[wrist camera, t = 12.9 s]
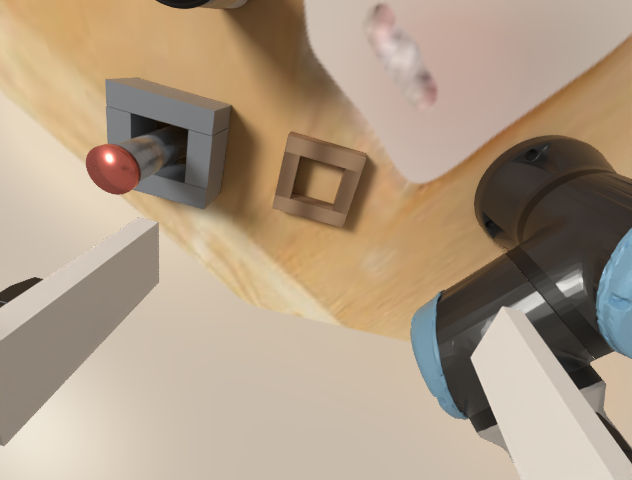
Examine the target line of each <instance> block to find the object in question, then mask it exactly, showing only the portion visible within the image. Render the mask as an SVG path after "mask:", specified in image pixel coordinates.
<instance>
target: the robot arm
mask: <svg viewBox="0 0 632 480" xmlns="http://www.w3.org/2000/svg"><path fill="white" fill-rule="evenodd" d="M474 207H475V214H476V217H477V220H478V222H479V224H480V226H481V227H482V228H483V230H484V231H485V232H486V233H487V234H488V236H489V237H490V238H491V239H492V240H494V241H495V242H496V243H498V244H499V245H501V246H503V247H505V248H508V249H510V251H508V252H507V253H504V254H503V255H501V256H500V257H498V258H496V259H495V260H493V261H492V262H490V263H489V264H487V265H485V266H484V267H482V268H481V269H479V270H477V271H476V272H474V273H473V274H471V275H470V276H468V277H466V278H465V279H463V280H462V281H460V282H458V283H457V284H455V285H453V286H452V287H450V288H448V289H447V290H443V291H441V292H439V293H438V294H437V295H436V297H435V298H433V299H432V300H430V301H429V302H428V303H426V304H425V305H423V306H422V307H420V308H419V309H418V310H417V311H416V312H415V314H414V316H413V318H412V322H411V331H410V334H411V342H412V347H413V351H414V355H415V358H416V361H417V364H418V367H419V369H420V372H421V374H422V376H423V378H424V380H425V383H426V384H427V386H428V388H429V390H430V392H431V393H432V394H433V396H434V397H437V399H438V402H439V405H440V406H441V407H442V408H443V410H444V411H445V412H446V413H448V414H449V415H451V416H452V417H454V418H457V419H468V418H469V419H470V421H471V422H472V425H473V426H474V428H475V430H476V432H477V433H478V435H479V436H480V437H481V438H483V439H485V440H488V441H490V442H492V443H494V444H496V445H498V446H500V447H502V448H503V449H504V450H505V451H507V452H508V454H509V456H510V458H511V459H512V461H513V463H514V465H515V467H516V469H517V471H518V474H519V476H520V479H521V480H632V448H631V446H630V445H629V444H628V443H627V441H626V440H625V439H624V438H623V436H622V435H621V434H620V432H619V431H618V430H617V429H616V427H615V426H614V425H613V423H612V422H611V421H610V420H609V418H608V417H607V416H606V413H605V411H604V408H603V407H604V398H605V389H606V383H605V382H604V381H603V380H602V379H601V377H600V376H599V375H598V374H597V372H596V371H595V370H594V369H593V368H592V366H591V365H590V362H592V361H594V360H595V359H598V358H600V357H602V356H604V355H607V354H609V353H611V352H614V351H616V352H618V353H620V354H622V355H624V356H627V357H629V358H631V359H632V179H630V178H627V177H625V176H622V175H619V174H617V173H616V171H615V170H614V169H613V168H612V166H611V165H610V164H609V162H608V161H607V160H606V159H605V157H604V156H603V155H602V154H601V153H600V152H599V151H598V150H597V149H595V148H594V147H592V146H591V145H589V144H587V143H585V142H582V141H579V140H576V139H573V138H570V137H566V136H558V135H549V136H541V137H536V138H532V139H529V140H526V141H524V142H521V143H519V144H517V145H515V146H514V147H512V148H510V149H509V150H507V151H506V152H504V153H503V154H502V155H501V156H499V157H498V158H497V159H496V160H495V161H494V162H493V163H492V164H491V165H490V167H489V168H488V169H487V170H486V172H485V173H484V175H483V177H482V178H481V180H480V182H479V185H478V187H477V190H476V194H475V202H474ZM158 233H159V222H156V221H152V220H148V219H143V218H139V217H138V218H137V219H135V220H133V221H132V222H130V223H129V224H127V225H126V226H124V227H123V228H122V229H120V230H118V231H117V232H115V233H114V234H112V235H111V236H109V237H107V238H106V239H104V240H103V241H101V242H100V243H99V244H97V245H95V246H94V247H92V248H91V249H89V250H88V251H86V252H85V253H83V254H82V255H80V256H79V257H77V258H75V259H74V260H72V261H71V262H69V263H68V264H66V265H65V266H63V267H62V268H60V269H59V270H57V271H56V272H54V273H53V274H51V275H50V276H48V277H47V278H45V279H40V278H36V277H34V278H31V279H28V280H25V281H23V282H20V283H17V284H14V285H12V286H10V287H8V288H6V289H5V290H3V291H2V292H0V445H2V446H5V445H6V444H7V443H8V442H9V441H10V440H11V438H12V437H13V436H14V435H15V434H16V433H17V432H18V431H19V430H20V429H21V428H22V427H23V426H24V425H25V424H26V423H27V421H28V420H29V419H30V418H31V417H32V416H33V415H34V414H35V413H36V412H37V411H38V410H39V408H41V406H43V405H44V403H45V402H46V401H47V400H48V399H49V398H50V397H51V396H52V395H53V394H54V393H55V392H56V391H57V390H58V389H59V388H60V386H61V385H62V384H63V383H64V382H65V381H66V380H67V379H68V378H69V377H70V376H71V375H72V374H73V373H74V372H75V371H76V370H77V368H78V367H79V366H80V365H81V364H82V363H83V362H84V361H85V360H86V359H87V358H88V357H89V356H90V355H91V353H93V352H94V350H95V349H96V348H97V347H98V346H99V345H100V344H101V343H102V342H103V341H104V340H105V339H106V338H107V337H108V336H109V335H110V334H111V332H112V331H113V330H114V329H115V328H116V327H117V326H118V325H119V324H120V323H121V322H122V321H123V320H124V319H125V318H126V317H127V315H128V314H129V313H130V312H131V311H132V310H133V309H134V308H135V307H136V306H137V305H138V304H139V303H140V302H141V301H142V300H143V299H144V297H145V296H146V295H147V294H148V293H149V292H150V291H151V290H152V289H153V288H154V287H155V286H156V285H157V284H158V283H159V234H158ZM508 257H509V258H510V259H509V258H508ZM514 264H515V265H516V266H515V265H514ZM520 271H521V272H520ZM526 278H527V279H528V280H527V279H526ZM531 284H532V285H533V286H532V285H531ZM537 291H538V292H539V293H538V292H537ZM542 297H543V298H544V299H543V298H542ZM548 304H549V305H548ZM553 310H554V311H553ZM586 349H587V350H586ZM591 355H592V356H593V357H594V358H595V359H594V358H593V357H592V356H591Z"/></svg>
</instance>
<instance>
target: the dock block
mask: <svg viewBox="0 0 632 480" xmlns="http://www.w3.org/2000/svg"><path fill="white" fill-rule="evenodd" d="M105 81H106V104H107V106H106V116H107V139H108V144H118V143H121V142H124V141H127V140H130V139H133V138H136V137H139V136H142V135H145V134H148V133H151V132H154V131H157V120H158V121H161V122H165V123H168V124H172V125H175V126H179V127H182V128H186V129H189V131H188V145H187V159H186V165H184V164H181V163H177V162H174V163H172V164H170V165H168V166H167V167H165V168H163V169H161V170H159V171H158V172H156V173H154V174H152V175H151V176H149V177H147V178H145V179H143V180H142V181H140V182H139V184H138V185H137V186H136V187H135V188H134V189H132V190H135V191H139V192H143V193H146V194H150V195H154V196H157V197H161V198H165V199H168V200H172V201H176V202H179V203H183V204H187V205H190V206H194V207H198V208H201V209H205V208H206V207H207V206H208V205H209V204H210V203H211V202H212V201H213V200H214V199H215V198H216V197H217V196H218V195H219V194H220V190H221V182H222V175H223V171H224V163H225V155H226V147H227V140H228V132H229V128H228V127H229V121H230V113H231V105H229V104H225V103H222V102H219V101H215V100H212V99H208V98H205V97H201V96H198V95H195V94H191V93H188V92H184V91H181V90H177V89H174V88H171V87H167V86H164V85H160V84H157V83H153V82H150V81H147V80H143V79H140V78H120V79H105Z"/></svg>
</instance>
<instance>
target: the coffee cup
mask: <svg viewBox="0 0 632 480" xmlns="http://www.w3.org/2000/svg"><path fill="white" fill-rule="evenodd" d="M156 1H158V2H160V3H162V4H164V5H167V6H170V7H173V8H179V9H189V8H195V7H203V8H212V9H223V8H230V9H231V8H238V7H241V6H242V5H244V4H245V3H246V2H247V1H248V0H156Z"/></svg>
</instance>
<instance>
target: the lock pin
mask: <svg viewBox="0 0 632 480" xmlns="http://www.w3.org/2000/svg"><path fill="white" fill-rule="evenodd" d="M188 131H189V129H186V128H182V127H179V126H175V125H171V126H168V127H165V128H162V129H159V130H157V131H154V132H151V133H148V134H145V135H142V136H139V137H136V138H133V139H130V140H127V141H124V142H121V143H118V144H104V145H101V146H98V147H95V148H93V149H92V150H91V151H90V152H89V153H88V155H87V158H86V168H87V171H88V174H89V175H90V177H91V179H92V180H93V181H94V183H95V184H96V185H97V186H98V187H100V188H101V189H103V190H104V191H106V192H108V193H111V194H117V195H119V194H125V193H127V192H129V191H131V190H132V189H134V188H135V187H136V186H137V185H138V184H139V182H140V181H142V180H143V179H145V178H147V177H149V176H151V175H152V174H154V173H156V172H158V171H159V170H161V169H163V168H165V167H167V166H168V165H170V164H172V163H174V162H176V161H177V160H179V159H181V158H183V157H185V156H186V155H187V145H188Z"/></svg>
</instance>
